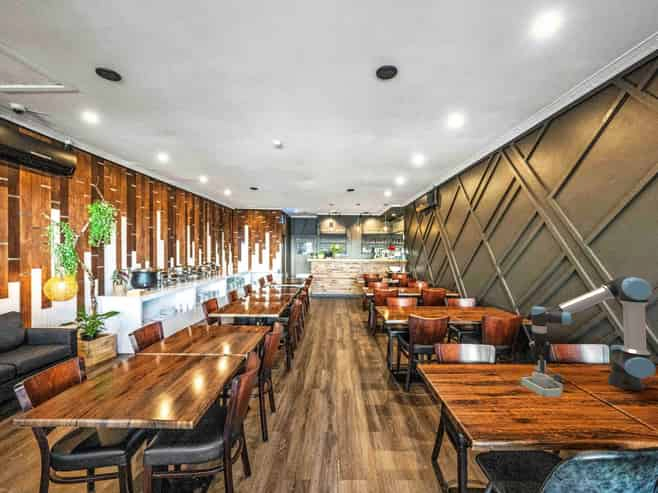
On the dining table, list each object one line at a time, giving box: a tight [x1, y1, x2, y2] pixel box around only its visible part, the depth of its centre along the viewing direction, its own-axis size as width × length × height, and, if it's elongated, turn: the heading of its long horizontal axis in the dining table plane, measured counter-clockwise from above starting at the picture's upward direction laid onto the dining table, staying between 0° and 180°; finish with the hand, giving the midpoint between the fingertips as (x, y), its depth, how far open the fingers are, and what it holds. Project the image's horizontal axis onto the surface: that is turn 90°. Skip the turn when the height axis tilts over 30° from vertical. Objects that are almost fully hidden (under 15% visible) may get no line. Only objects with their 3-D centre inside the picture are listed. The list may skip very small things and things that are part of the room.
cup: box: [531, 372, 554, 389], centre depth 171 cm, size 11×8×8 cm
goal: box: [519, 376, 562, 399], centre depth 170 cm, size 10×17×4 cm, turn 7°
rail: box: [522, 372, 564, 383], centre depth 183 cm, size 22×5×3 cm, turn 97°
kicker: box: [531, 354, 564, 393], centre depth 177 cm, size 6×20×15 cm, turn 7°
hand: (540, 370), depth 183 cm, fingers closed on kicker, 3 cm apart
